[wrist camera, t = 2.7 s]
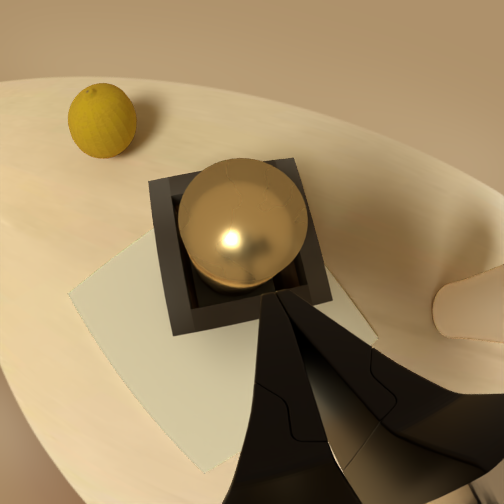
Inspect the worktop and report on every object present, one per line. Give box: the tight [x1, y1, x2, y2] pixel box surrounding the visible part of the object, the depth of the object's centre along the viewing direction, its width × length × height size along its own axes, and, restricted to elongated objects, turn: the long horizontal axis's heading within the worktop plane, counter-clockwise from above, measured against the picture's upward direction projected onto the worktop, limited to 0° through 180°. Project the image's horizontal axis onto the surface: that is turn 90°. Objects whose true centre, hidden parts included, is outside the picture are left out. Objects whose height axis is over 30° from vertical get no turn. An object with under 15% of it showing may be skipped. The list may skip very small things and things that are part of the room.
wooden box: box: [148, 158, 333, 336], centre depth 19 cm, size 8×8×8 cm
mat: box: [68, 228, 378, 474], centre depth 22 cm, size 18×18×1 cm
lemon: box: [68, 83, 137, 158], centre depth 20 cm, size 6×6×8 cm
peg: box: [178, 158, 308, 296], centre depth 15 cm, size 5×5×8 cm
